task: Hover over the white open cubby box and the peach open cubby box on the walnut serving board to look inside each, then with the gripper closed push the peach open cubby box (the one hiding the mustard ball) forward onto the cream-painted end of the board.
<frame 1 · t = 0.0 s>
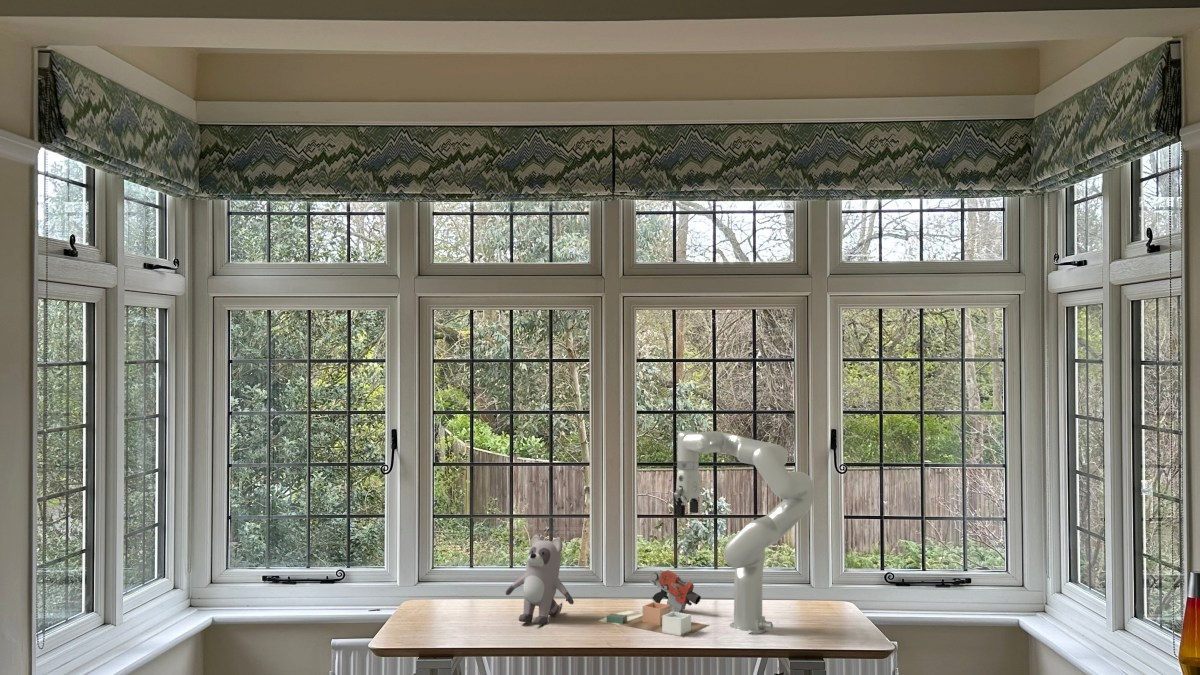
hand: (687, 514, 338), 37 cm above the table, tool pointing down, fingers open, 9 cm apart
board: (653, 626, 326), on the table
block: (676, 630, 315), point 2 cm above the table, touching white open cubby box
peach open cubby box: (656, 621, 327), point 1 cm above the table, touching ball, board
toy: (545, 620, 333), on the table
toy gun: (674, 615, 342), on the table
ball: (656, 620, 328), point 2 cm above the table, touching peach open cubby box
white open cubby box: (676, 631, 315), point 1 cm above the table, touching block, board
tin: (616, 621, 327), point 1 cm above the table, touching board
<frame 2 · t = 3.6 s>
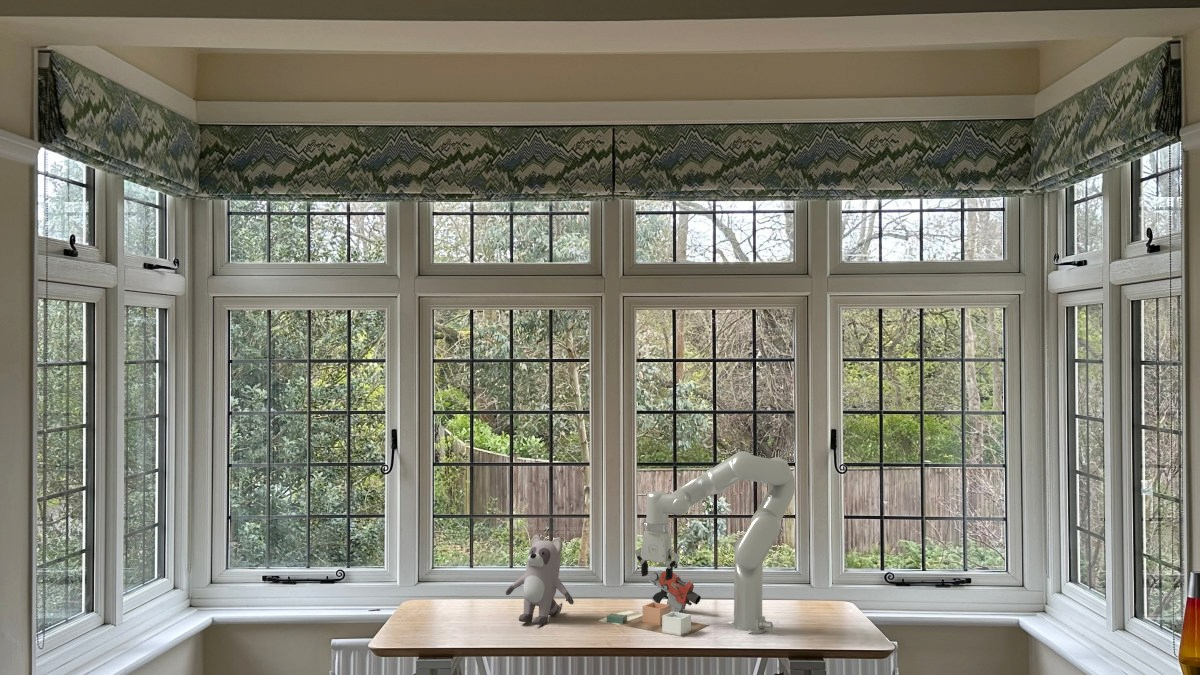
hand: (656, 577, 328), 16 cm above the table, tool pointing down, fingers open, 9 cm apart
nothing on the table moved.
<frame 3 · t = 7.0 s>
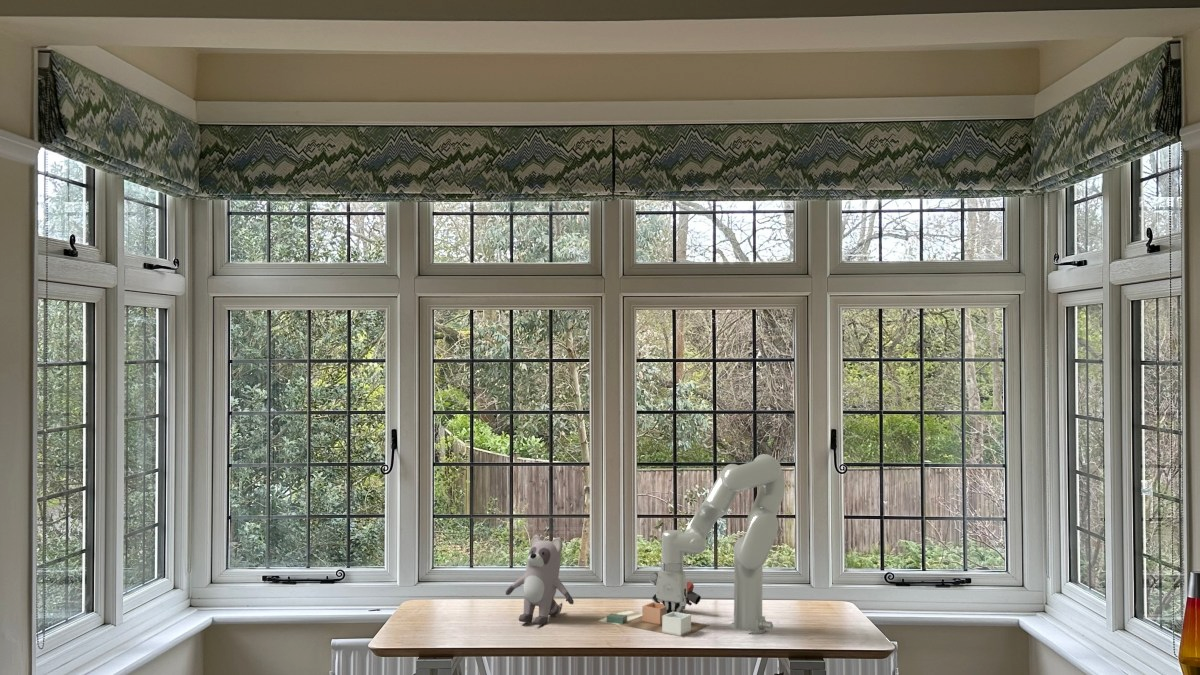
hand: (671, 621, 324), 2 cm above the table, tool pointing down, fingers closed
peach open cubby box: (656, 621, 328), point 1 cm above the table, touching ball, gripper
everything else where it was.
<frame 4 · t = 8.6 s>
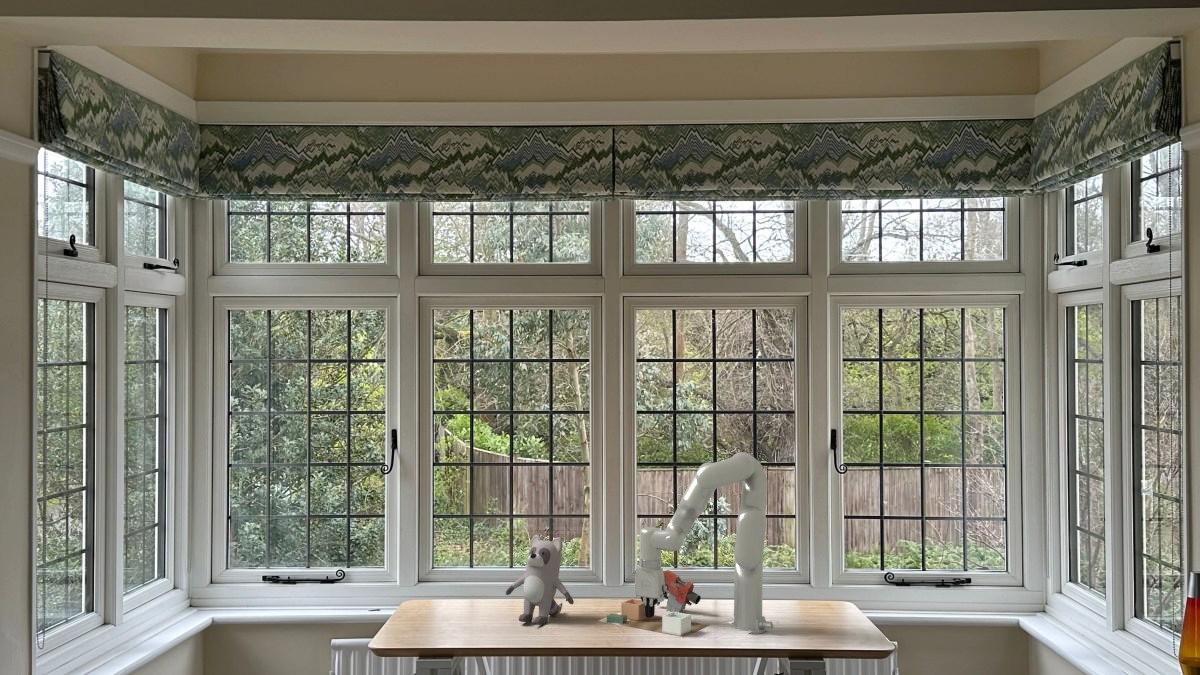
hand: (649, 616, 329), 2 cm above the table, tool pointing down, fingers closed
peach open cubby box: (635, 617, 332), point 1 cm above the table, touching ball, board, gripper
ball: (634, 615, 333), point 2 cm above the table, tilted 14°, touching peach open cubby box
everything else where it was.
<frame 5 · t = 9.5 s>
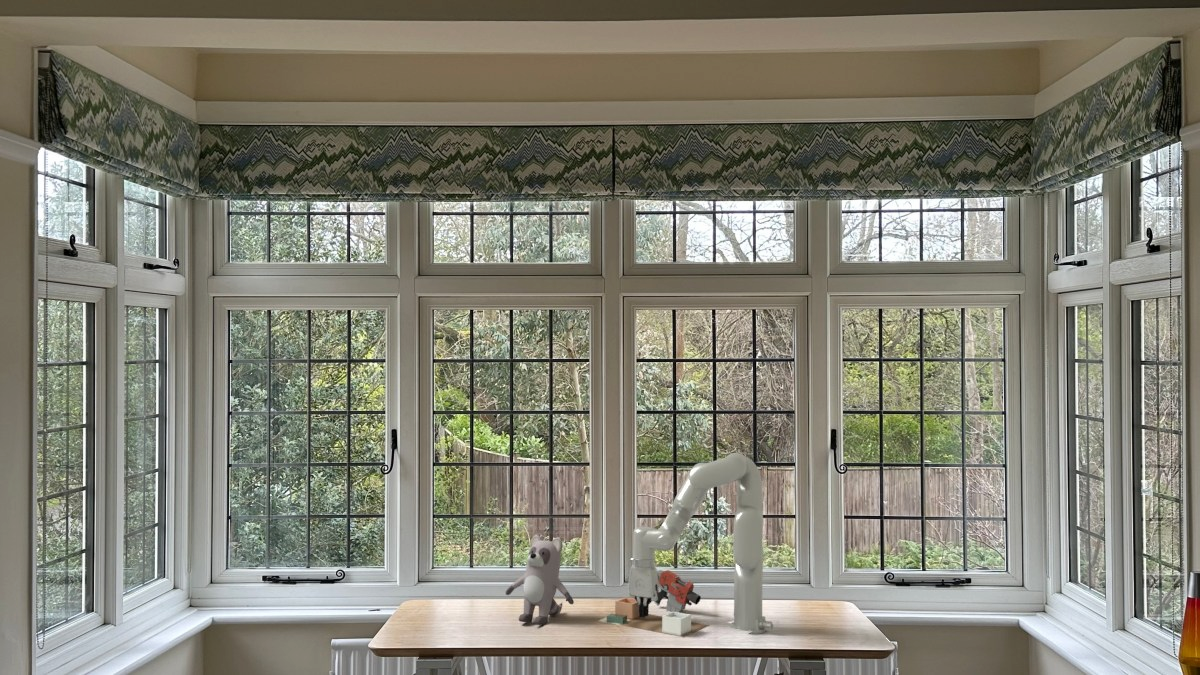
hand: (643, 616, 330), 2 cm above the table, tool pointing down, fingers closed
peach open cubby box: (629, 616, 334), point 1 cm above the table, touching ball, board, gripper
ball: (627, 613, 334), point 2 cm above the table, tilted 38°, touching peach open cubby box
everything else where it was.
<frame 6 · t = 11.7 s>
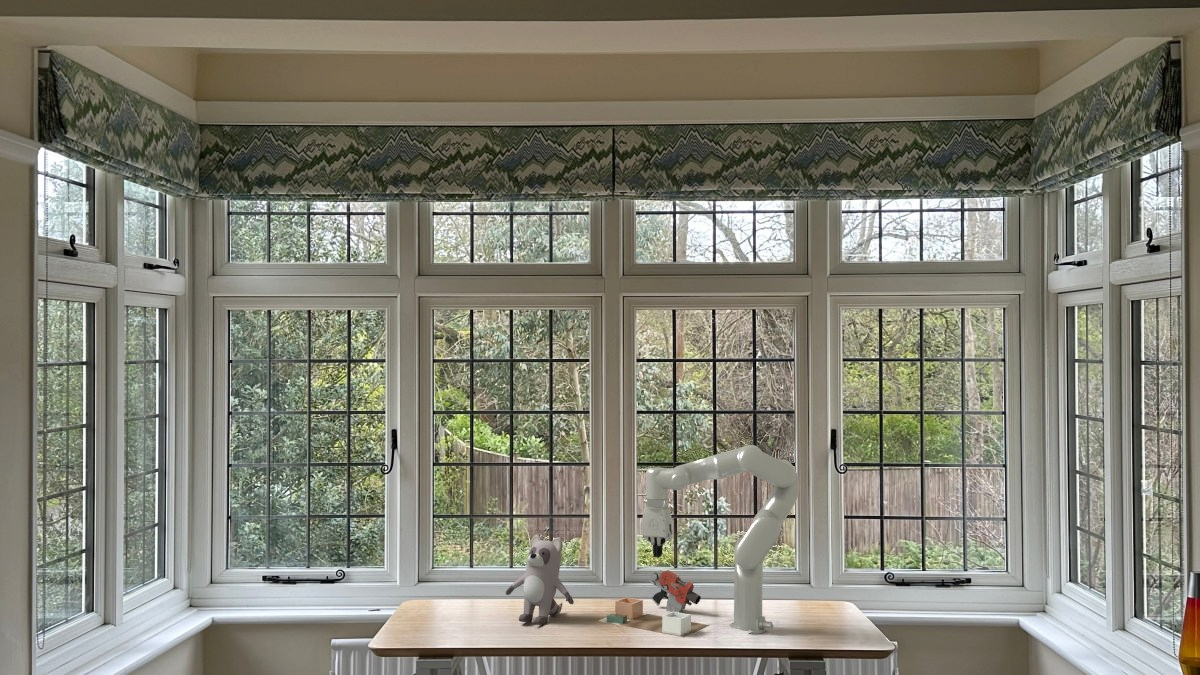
hand: (657, 556, 329), 23 cm above the table, tool pointing down, fingers closed
peach open cubby box: (629, 616, 334), point 1 cm above the table, touching ball, board
everything else where it was.
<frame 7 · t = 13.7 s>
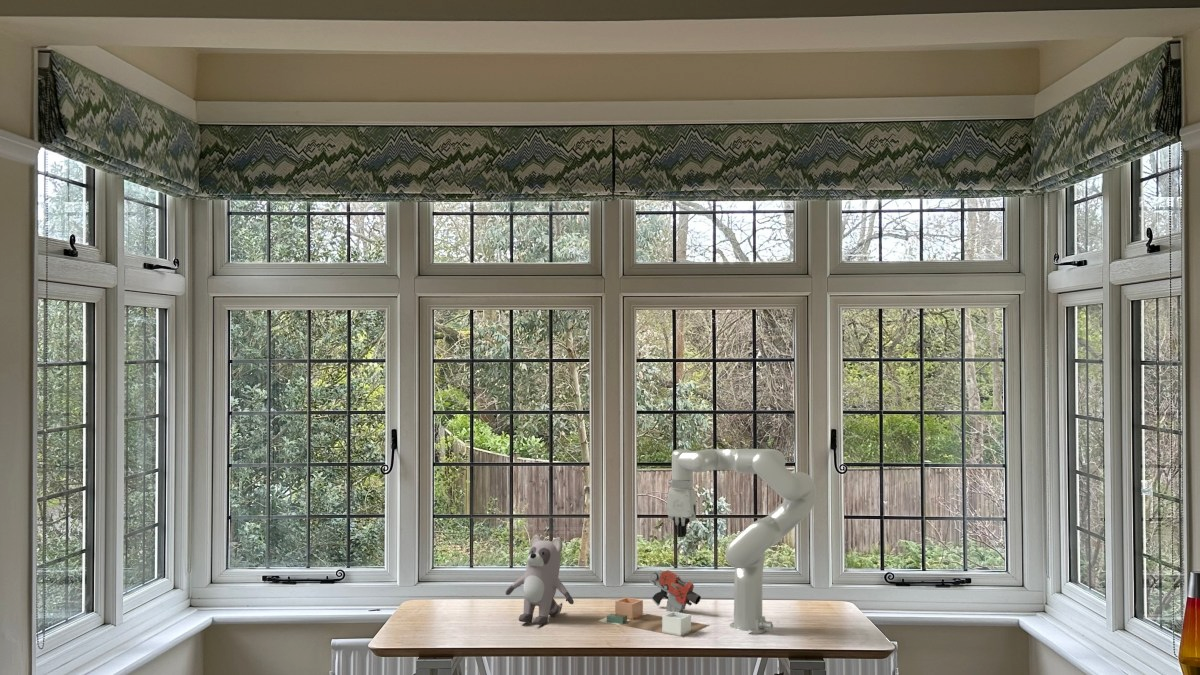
hand: (681, 536, 337), 29 cm above the table, tool pointing down, fingers closed
nothing on the table moved.
at the end: peach open cubby box inside the target area (1.8 cm from its centre), point 1.2 cm above the table; peach open cubby box tilted 0°; peach open cubby box moved 11.3 cm from its start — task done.
